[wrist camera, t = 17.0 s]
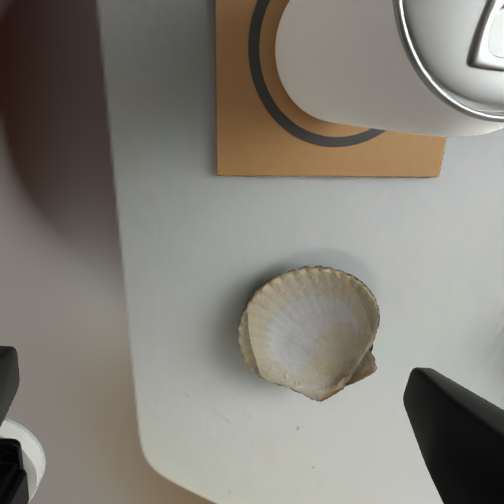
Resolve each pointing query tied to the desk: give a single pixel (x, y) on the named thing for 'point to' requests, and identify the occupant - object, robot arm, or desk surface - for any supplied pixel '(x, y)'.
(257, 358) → the seashell
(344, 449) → the desk surface
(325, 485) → the desk surface
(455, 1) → the can
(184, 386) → the desk surface
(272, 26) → the circle card
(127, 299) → the desk surface
